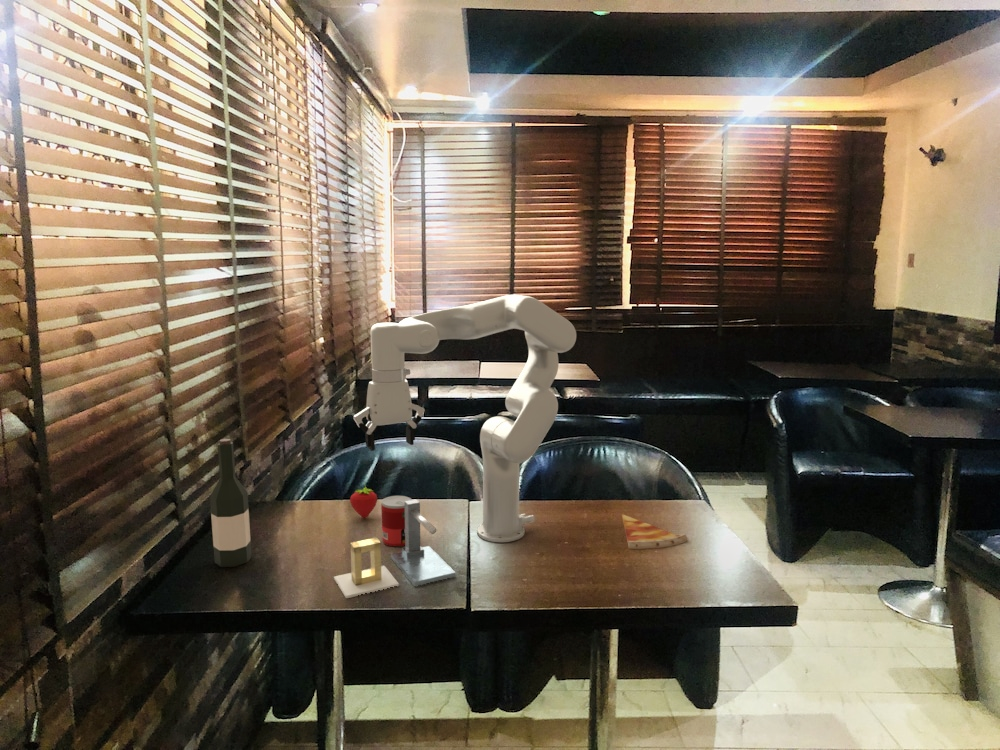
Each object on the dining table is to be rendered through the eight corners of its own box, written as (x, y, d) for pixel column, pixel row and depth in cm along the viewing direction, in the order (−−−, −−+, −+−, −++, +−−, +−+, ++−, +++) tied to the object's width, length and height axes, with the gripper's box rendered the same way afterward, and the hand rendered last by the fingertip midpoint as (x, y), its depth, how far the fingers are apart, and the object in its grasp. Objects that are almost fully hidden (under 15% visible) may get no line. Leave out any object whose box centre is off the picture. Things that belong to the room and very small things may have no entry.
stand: (428, 550, 171) (428, 495, 168) (455, 577, 157) (455, 518, 154) (390, 558, 166) (389, 502, 164) (414, 586, 152) (413, 526, 150)
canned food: (407, 548, 172) (406, 507, 170) (377, 545, 173) (376, 504, 171) (417, 536, 179) (416, 496, 177) (388, 533, 181) (387, 494, 179)
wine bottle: (206, 564, 163) (197, 442, 157) (231, 549, 170) (223, 433, 165) (235, 569, 160) (226, 446, 154) (258, 555, 168) (251, 437, 162)
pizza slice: (677, 519, 193) (678, 512, 193) (691, 553, 172) (692, 546, 171) (621, 516, 195) (622, 510, 194) (628, 550, 173) (629, 543, 173)
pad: (384, 567, 161) (384, 565, 161) (398, 586, 153) (398, 583, 153) (334, 578, 156) (333, 576, 156) (346, 598, 147) (346, 595, 147)
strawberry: (350, 514, 194) (349, 481, 192) (377, 512, 195) (376, 479, 193) (350, 522, 188) (349, 488, 186) (378, 520, 189) (377, 486, 187)
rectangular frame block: (377, 574, 157) (376, 537, 155) (381, 579, 154) (380, 542, 153) (351, 580, 154) (350, 542, 152) (355, 585, 151) (354, 547, 150)
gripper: (417, 370, 166) (418, 437, 170) (347, 376, 158) (350, 447, 161) (429, 375, 160) (430, 445, 163) (357, 382, 152) (360, 455, 155)
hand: (390, 446), depth 162 cm, fingers open, 9 cm apart
